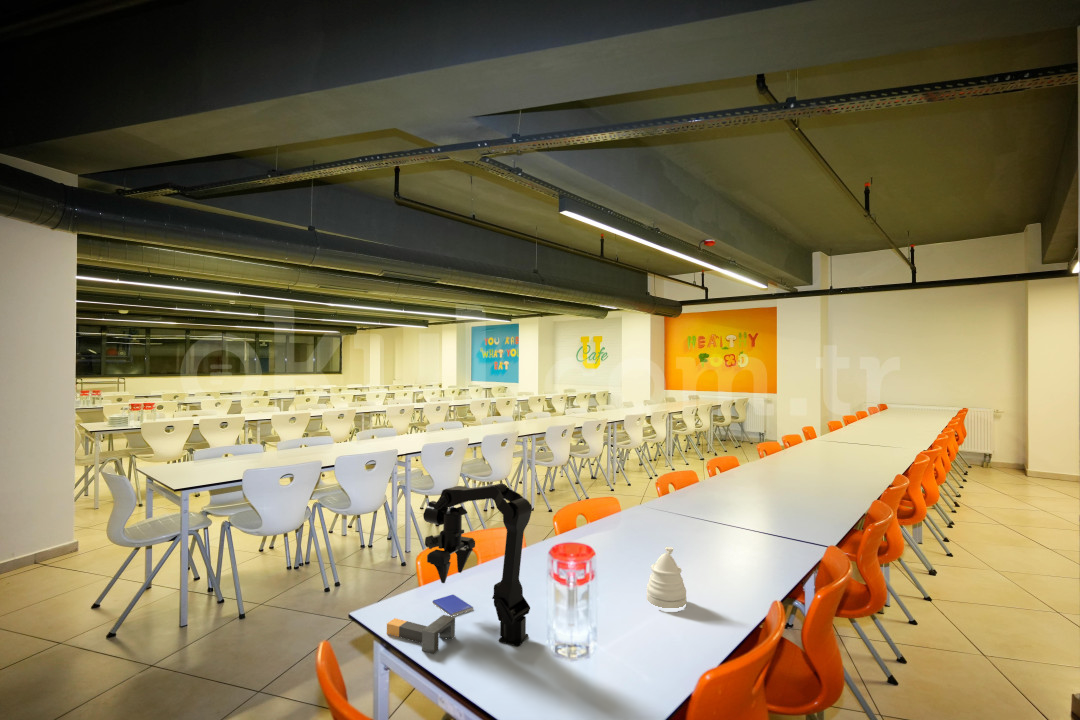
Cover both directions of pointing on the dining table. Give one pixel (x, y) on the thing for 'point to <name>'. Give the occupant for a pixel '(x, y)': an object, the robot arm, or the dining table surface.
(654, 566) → the honey pot
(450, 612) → the hard drive
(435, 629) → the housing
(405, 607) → the dining table surface
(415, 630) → the plug
